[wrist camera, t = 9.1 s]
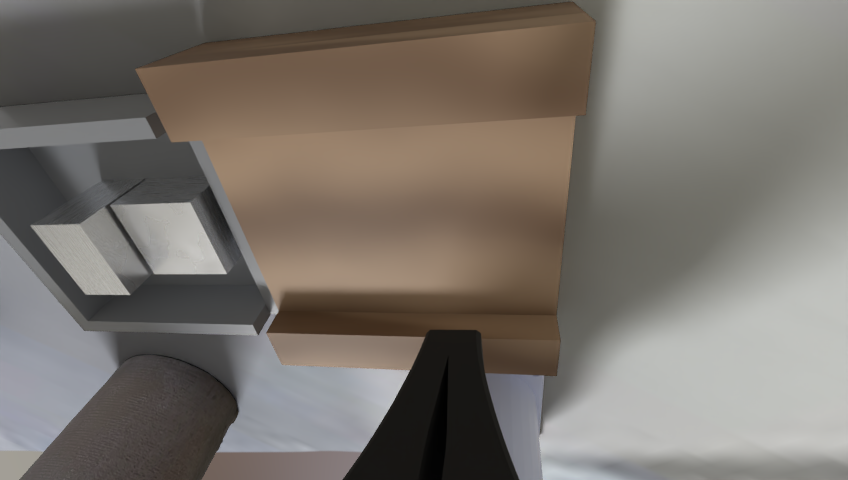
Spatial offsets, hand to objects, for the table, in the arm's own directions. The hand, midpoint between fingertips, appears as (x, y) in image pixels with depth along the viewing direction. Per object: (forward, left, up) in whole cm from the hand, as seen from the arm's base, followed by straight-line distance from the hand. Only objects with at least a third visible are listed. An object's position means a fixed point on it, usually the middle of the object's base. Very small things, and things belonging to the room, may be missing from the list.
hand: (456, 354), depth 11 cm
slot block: (-1, +3, -9) cm, 10 cm away
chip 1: (-1, +16, -7) cm, 17 cm away
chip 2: (-1, +14, -9) cm, 16 cm away
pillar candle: (-18, +24, -10) cm, 31 cm away
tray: (-1, +16, -9) cm, 19 cm away
